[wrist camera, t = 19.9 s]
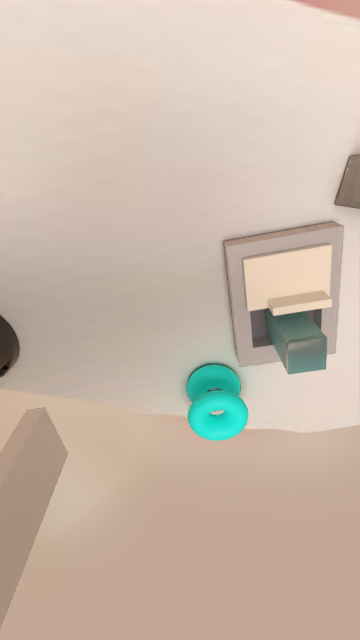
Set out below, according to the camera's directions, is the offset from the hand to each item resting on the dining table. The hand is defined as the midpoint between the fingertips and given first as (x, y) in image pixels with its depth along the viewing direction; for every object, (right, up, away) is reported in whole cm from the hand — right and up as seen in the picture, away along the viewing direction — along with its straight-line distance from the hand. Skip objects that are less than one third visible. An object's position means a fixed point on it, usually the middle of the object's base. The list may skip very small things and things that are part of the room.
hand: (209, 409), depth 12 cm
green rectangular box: (+16, +4, +39) cm, 42 cm away
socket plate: (+15, +8, +37) cm, 41 cm away
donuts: (+5, -8, +46) cm, 47 cm away
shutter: (+14, +10, +32) cm, 36 cm away
